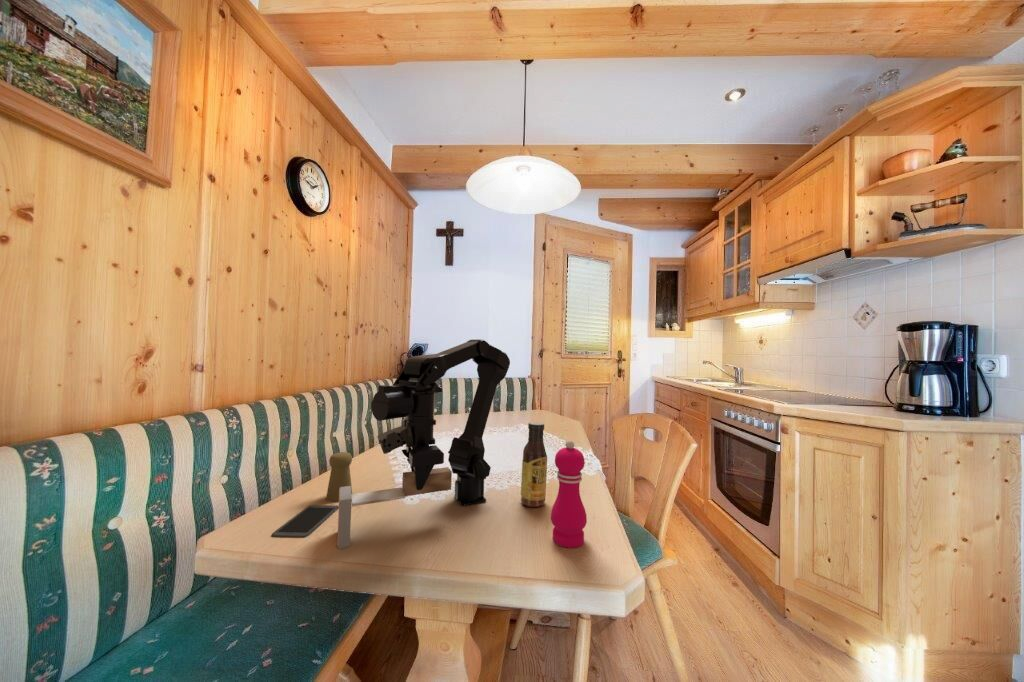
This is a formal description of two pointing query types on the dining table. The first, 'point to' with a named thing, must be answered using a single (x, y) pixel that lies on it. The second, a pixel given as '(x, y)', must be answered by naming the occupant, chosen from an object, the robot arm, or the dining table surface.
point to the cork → (339, 475)
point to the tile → (344, 517)
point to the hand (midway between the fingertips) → (417, 486)
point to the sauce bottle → (534, 467)
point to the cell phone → (305, 521)
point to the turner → (407, 488)
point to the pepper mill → (569, 498)
